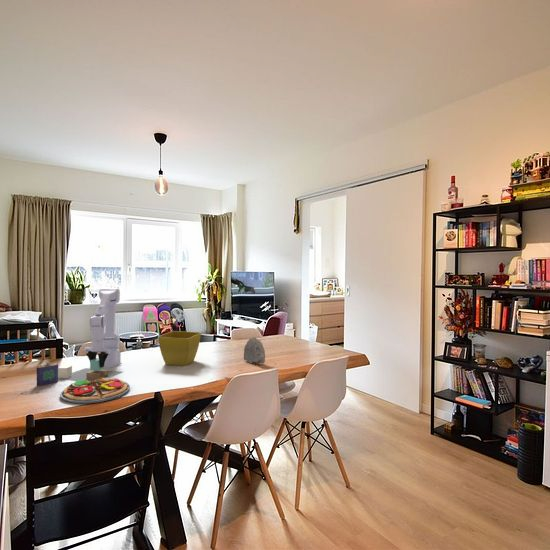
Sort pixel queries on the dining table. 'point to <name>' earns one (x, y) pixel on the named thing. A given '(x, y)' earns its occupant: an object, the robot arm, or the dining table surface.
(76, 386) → the toy pizza
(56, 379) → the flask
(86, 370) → the mat
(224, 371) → the dining table surface
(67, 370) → the cream block
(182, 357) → the flower pot
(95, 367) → the teal block
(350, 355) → the dining table surface
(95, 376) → the walnut base
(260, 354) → the decorative rock
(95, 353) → the robot arm
